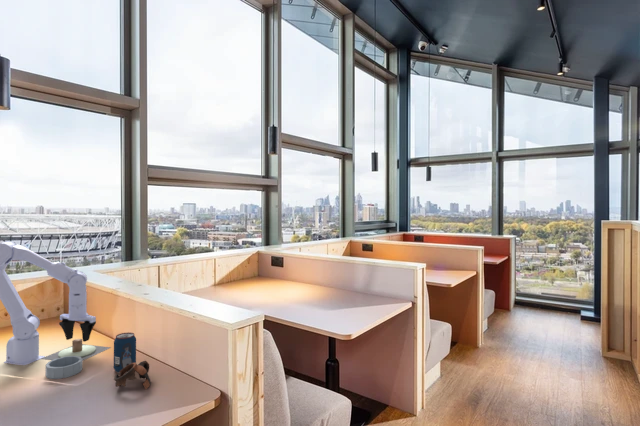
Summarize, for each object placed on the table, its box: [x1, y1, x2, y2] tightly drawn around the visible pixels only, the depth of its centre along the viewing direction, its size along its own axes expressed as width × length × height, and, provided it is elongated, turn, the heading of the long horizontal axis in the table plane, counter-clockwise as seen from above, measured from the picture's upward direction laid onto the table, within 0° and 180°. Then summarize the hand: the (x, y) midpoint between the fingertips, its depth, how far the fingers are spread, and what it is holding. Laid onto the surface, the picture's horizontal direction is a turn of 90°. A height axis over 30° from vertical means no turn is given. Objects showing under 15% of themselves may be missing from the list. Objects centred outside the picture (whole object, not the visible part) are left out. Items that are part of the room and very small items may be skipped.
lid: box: [58, 338, 96, 358], centre depth 144 cm, size 12×12×5 cm
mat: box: [40, 343, 112, 362], centre depth 144 cm, size 16×16×1 cm
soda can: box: [113, 332, 137, 374], centre depth 131 cm, size 7×7×12 cm
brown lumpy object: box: [113, 360, 152, 390], centre depth 120 cm, size 12×10×8 cm
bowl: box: [44, 356, 83, 380], centre depth 128 cm, size 10×10×4 cm
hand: (77, 339), depth 144 cm, fingers open, 7 cm apart
